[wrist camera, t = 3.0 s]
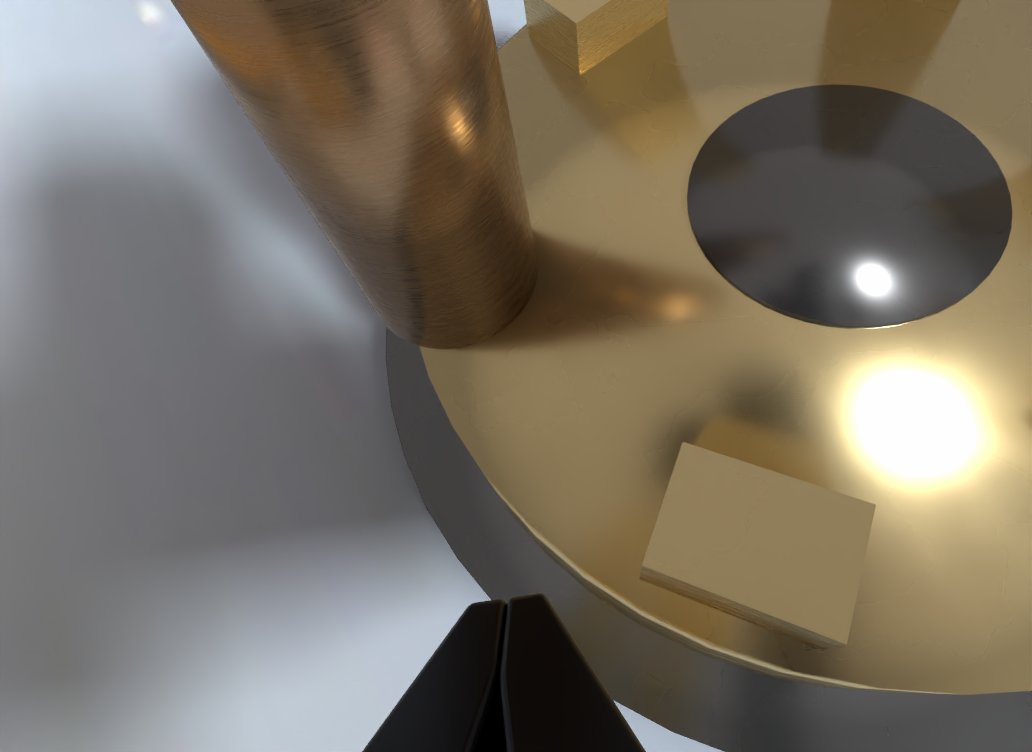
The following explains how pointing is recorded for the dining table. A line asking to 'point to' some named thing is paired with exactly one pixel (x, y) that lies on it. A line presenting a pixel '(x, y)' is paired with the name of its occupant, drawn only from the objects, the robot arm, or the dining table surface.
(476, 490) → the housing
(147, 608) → the dining table surface
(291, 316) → the dining table surface
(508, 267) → the brass turntable disc
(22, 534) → the dining table surface
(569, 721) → the robot arm
